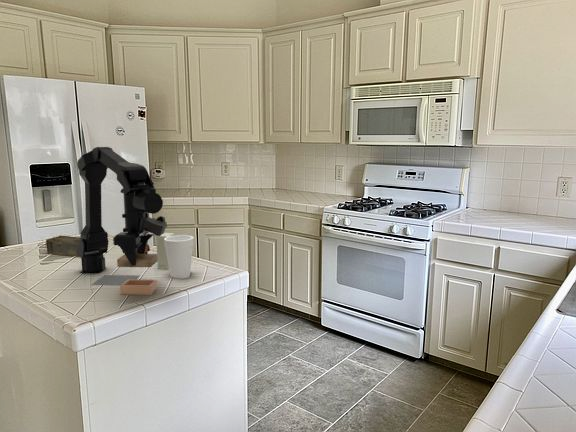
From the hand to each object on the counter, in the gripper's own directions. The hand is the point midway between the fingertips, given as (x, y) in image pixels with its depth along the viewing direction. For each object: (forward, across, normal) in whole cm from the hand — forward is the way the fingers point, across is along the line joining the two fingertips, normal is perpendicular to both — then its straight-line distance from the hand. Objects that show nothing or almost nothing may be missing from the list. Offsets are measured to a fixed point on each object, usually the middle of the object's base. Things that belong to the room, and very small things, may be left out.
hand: (137, 262), depth 127 cm
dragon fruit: (+10, +39, +15) cm, 43 cm away
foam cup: (+10, +16, -8) cm, 20 cm away
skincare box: (+10, +25, -1) cm, 27 cm away
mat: (+9, +10, +11) cm, 17 cm away
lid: (+1, 0, 0) cm, 1 cm away
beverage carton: (+10, +44, +42) cm, 61 cm away
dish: (+9, 0, 0) cm, 9 cm away
